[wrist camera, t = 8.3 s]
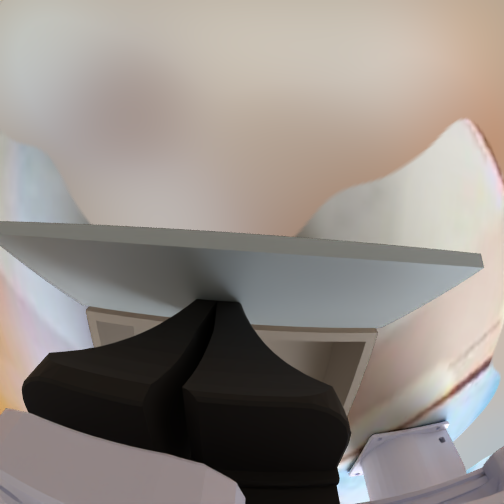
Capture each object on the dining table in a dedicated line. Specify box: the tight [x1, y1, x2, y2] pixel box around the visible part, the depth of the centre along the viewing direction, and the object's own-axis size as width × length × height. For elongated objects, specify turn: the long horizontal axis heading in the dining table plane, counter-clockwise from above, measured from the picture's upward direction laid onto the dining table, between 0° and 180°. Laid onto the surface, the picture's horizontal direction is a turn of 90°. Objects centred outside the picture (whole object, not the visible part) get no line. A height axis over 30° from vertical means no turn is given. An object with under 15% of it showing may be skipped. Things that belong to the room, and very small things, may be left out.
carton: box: [86, 306, 378, 416], centre depth 18 cm, size 14×14×5 cm
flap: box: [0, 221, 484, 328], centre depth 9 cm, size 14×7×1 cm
